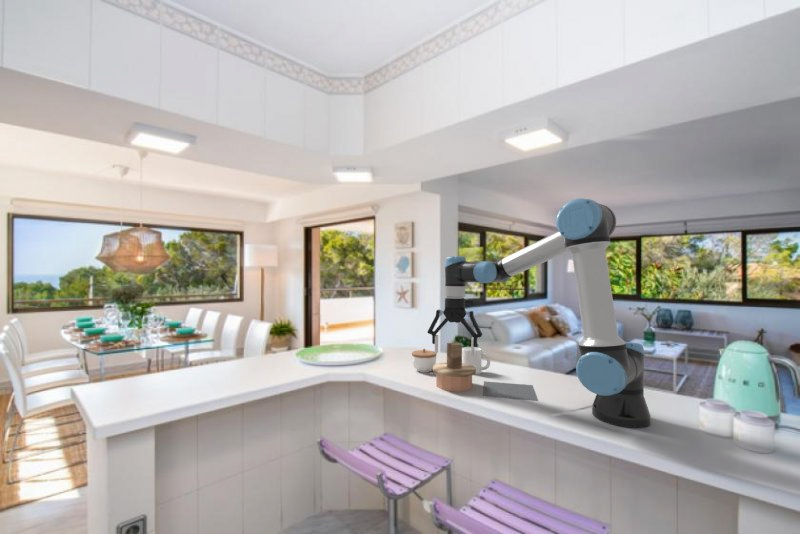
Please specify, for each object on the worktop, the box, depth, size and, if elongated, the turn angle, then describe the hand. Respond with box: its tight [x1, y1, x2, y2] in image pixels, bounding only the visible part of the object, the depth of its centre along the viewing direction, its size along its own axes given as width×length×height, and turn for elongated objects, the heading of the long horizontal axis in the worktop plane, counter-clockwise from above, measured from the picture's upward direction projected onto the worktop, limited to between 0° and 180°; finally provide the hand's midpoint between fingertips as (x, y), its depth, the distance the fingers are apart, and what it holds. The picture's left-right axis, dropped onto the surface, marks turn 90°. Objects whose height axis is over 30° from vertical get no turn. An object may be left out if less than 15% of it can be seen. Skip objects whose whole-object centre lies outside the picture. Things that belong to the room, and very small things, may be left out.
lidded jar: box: [411, 348, 437, 373], centre depth 164 cm, size 11×11×9 cm
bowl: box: [435, 373, 473, 392], centre depth 141 cm, size 13×13×6 cm
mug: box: [462, 346, 491, 375], centre depth 161 cm, size 12×8×10 cm
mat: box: [482, 380, 539, 402], centre depth 136 cm, size 18×18×1 cm
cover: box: [432, 341, 476, 377], centre depth 141 cm, size 16×16×10 cm
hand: (454, 354), depth 141 cm, fingers open, 13 cm apart
